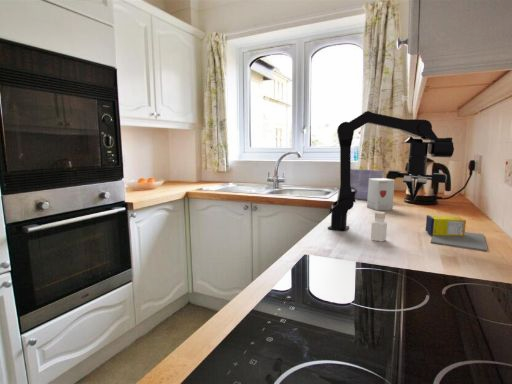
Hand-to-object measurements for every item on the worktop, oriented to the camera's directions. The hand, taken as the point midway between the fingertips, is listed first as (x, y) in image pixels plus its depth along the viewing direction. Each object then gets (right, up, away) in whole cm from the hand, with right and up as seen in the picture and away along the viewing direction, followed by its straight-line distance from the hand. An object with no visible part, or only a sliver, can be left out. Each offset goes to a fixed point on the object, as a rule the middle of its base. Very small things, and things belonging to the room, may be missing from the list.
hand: (413, 200), depth 112 cm
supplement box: (+5, -9, 0) cm, 10 cm away
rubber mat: (+12, -13, -6) cm, 19 cm away
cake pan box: (+8, -2, +72) cm, 73 cm away
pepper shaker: (-15, -13, -7) cm, 22 cm away
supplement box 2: (+6, -6, +45) cm, 46 cm away
